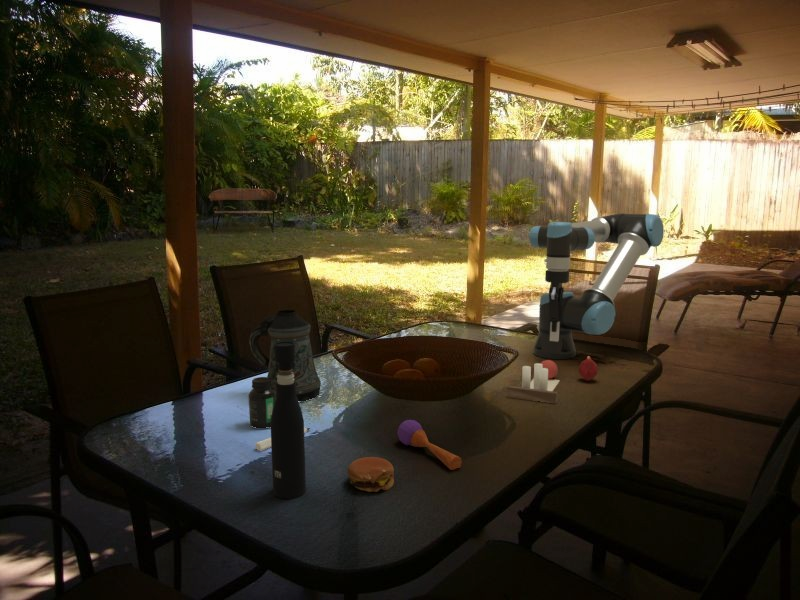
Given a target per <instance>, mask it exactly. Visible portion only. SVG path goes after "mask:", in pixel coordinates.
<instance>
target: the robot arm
mask: <svg viewBox="0 0 800 600" xmlns="http://www.w3.org/2000/svg"><path fill="white" fill-rule="evenodd" d="M664 229H665V228H664V224H663V220H662V219H661V217H660V216H659V215H658V214H650V213H643V214H642V213H614V214H607V215H604V216H603V215H602V216H600V217H599V216H598V217H595V218H592V219H591V220H587V221H579V222H569V221H566V222H565V221H553V222H552V221H551V222H549V223H548V225H546V226H545V225H536V226H534V227H533V226H532V228H531V229H530V230H529V234H528V241H529V243H530V245H531V246H532V247H534V248H539V249H546V256H545V257H546V258H545V259H544V262H545V268H546V271H545V278H544V281H545V282H547V283H550V284H551V287H549V290H548V291H549V292H546V293H543V294H542V295H541V296H540V299H539V311H538V312H539V314H538V315H539V319H538V320H539V321H538V334H537V336H536V337H537V338H536V340H535V342H534V345H533V350H532V351H533V355H535V356H536V357H539V358H543V359H548V360H567V359H572V358H573V359H574V358H575V357H576V352H577V351H576V346H575V343H574V339H573V334H572V332H573V331H575V332H580V333H585V334H588V335H596V336H597V335H598V336H600V335H604V334H605V333H607V332H608V331H609V330H610V329H611V328H612V326H613V325H614V322H615V317H616V308H615V303H614V300H615V298H616V297H617V295H618V293H619V291H620V290H621V288H622V287H623V285H624V283H625V282H626V280H627V278H628V277H629V275H630V273H631V272H632V270H633V269H634V268H635V267H634V266H635V265H636V263H637V262H638V261H639V258H640V256H644V255H646V254H648V252H649V250H650V248H651V247H655V248H656V247H659V246H660V245H661V244H662V242H663V239H664V234H665V233H664V232H665V231H664ZM595 243H598V244H599V243H610V244H617V247H616V248H615V249H614V251H613V253H612V255H611V256H610V257H609V258H608V261H607V262H606V264H605V266H603V268H602V270H601V271H600V273H599V275H598V277H597V278H596V280H595V281H594V283H593V285H592V287H591V288H587V289H585V290H584V291H583V292H582V294H581V295H580V297H574V296H575V295H574V292H572V291H565V288H564V287H563V284H567V283H569V282H570V271H569V270H570V269H571V252H572V251H586V250H589V249H590V248H592V247H593V245H594V244H595Z"/></svg>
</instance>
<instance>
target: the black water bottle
mask: <svg viewBox="0 0 800 600" xmlns="http://www.w3.org/2000/svg"><path fill="white" fill-rule="evenodd" d="M274 352H275V362H278V363H279V369H278V371H279V372H280V373H278V376H277V378H278V379H277V381H278V382H277V383H276V400H275V403H274V406H273V410H272V415H271V428H270V437H271V469H272V470H271V471H272V473H271V474H272V493H273V495H274V496H275V497H276V496H277V497H276V498H278V497H279V498H278V499H282V498H285V499H284V500H290V498H292V499H296V498H299V497H301V496H303V495H304V494H305V493H306V490H307V487H306V486H307V485H306V484H307V483H306V482H307V481H306V478H307V477H306V451H305V450H306V449H305V434H304V428H305V421H304V415H303V411H302V407H301V405H300V403H299V402H298V399H297V397H296V382H294V375H293V372H291V371H292V362H293V361H295V343H293V342H278V343H275V344H274ZM286 498H287V499H286Z"/></svg>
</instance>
